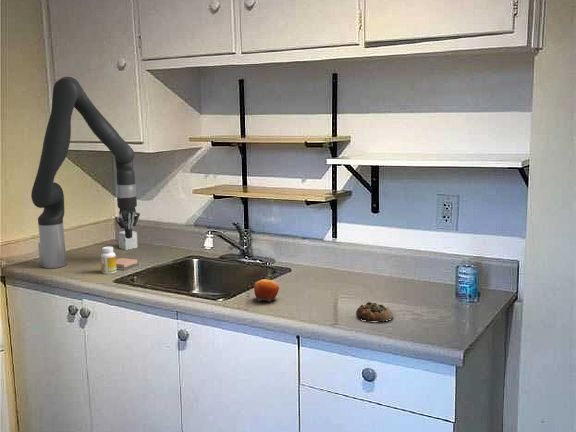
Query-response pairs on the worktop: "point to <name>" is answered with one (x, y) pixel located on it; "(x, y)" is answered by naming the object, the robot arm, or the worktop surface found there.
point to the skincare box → (127, 241)
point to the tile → (125, 262)
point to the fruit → (266, 290)
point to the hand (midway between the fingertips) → (128, 238)
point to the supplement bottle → (108, 260)
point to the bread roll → (374, 312)
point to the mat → (126, 267)
